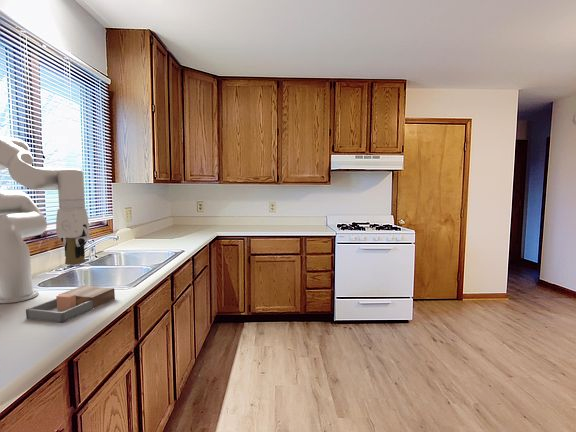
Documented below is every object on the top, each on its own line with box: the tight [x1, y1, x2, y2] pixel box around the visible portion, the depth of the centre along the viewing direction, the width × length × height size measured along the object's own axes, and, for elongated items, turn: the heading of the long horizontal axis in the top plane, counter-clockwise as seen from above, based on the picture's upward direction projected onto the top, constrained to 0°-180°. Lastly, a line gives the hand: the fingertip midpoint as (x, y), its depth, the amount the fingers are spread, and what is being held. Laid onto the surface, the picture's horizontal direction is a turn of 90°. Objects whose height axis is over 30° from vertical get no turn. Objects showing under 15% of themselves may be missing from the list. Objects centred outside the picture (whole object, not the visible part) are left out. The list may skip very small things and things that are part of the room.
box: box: [25, 298, 93, 324], centre depth 109 cm, size 14×12×3 cm
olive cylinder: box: [64, 235, 86, 266], centre depth 117 cm, size 6×6×11 cm
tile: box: [55, 293, 76, 311], centre depth 110 cm, size 5×5×2 cm
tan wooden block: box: [58, 285, 116, 309], centre depth 119 cm, size 14×10×4 cm
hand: (75, 256), depth 117 cm, fingers closed on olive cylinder, 3 cm apart
